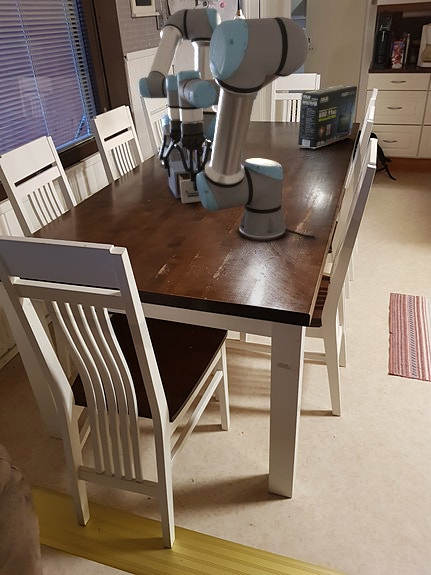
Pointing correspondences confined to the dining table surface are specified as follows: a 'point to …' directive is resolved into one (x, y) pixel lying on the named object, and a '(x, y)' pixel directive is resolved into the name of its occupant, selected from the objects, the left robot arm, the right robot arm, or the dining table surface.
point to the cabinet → (177, 169)
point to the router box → (326, 115)
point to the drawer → (186, 188)
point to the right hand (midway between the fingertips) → (196, 189)
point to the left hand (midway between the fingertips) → (183, 174)
